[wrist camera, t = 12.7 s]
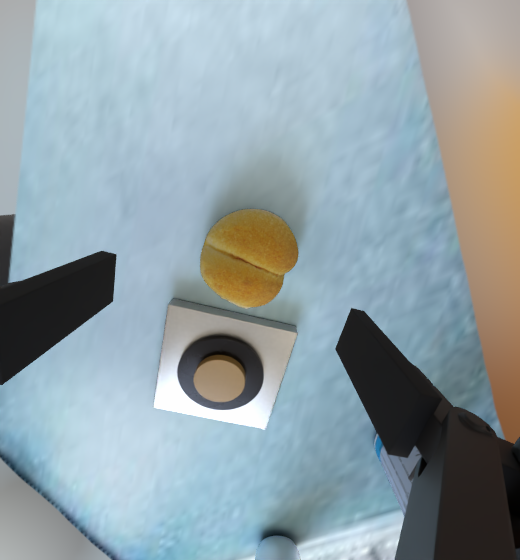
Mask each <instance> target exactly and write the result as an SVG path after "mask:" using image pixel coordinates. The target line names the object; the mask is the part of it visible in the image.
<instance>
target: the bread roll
mask: <svg viewBox="0 0 520 560" xmlns="http://www.w3.org/2000/svg"><path fill="white" fill-rule="evenodd" d="M297 259H298V247H297V243H296V240H295V237H294V235H293V233H292V231H291V230H290V228H289V227H288V225H287V224H286V223H285V222H284V220H283V219H281V218H280V217H279V216H277V215H275V214H274V213H271V212H269V211H266V210H261V209H242V210H239V211H236V212H232V213H230V214H229V215H227V216H225V217H223V218H222V219H220V220H219V221H218V222H217V223H216V224H215V225H214V226H213V227H212V228H211V229H210V231H209V233H208V234H207V237H206V239H205V243H204V245H203V248H202V252H201V258H200V270H201V275H202V277H203V279H204V281H205V282H206V283H207V285H208V286H209V287H210V288H211V289H212V290H213V291H215V293H217V294H218V295H219V296H220V297H221V298H222V299H226V300H227V301H229V302H231V303H233V304H235V305H237V306H239V307H242V308H245V309H248V308H250V307H258V306H262V305H265V304H267V303H269V302H270V301H271V300H273V299H274V298H275V297H276V295H277V294H278V293H279V291H280V289H281V287H282V285H283V279H284V275H285V273H287V272H289V271H290V270H291V269H292V268H293V267H294V266H295V264H296V262H297Z"/></svg>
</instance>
